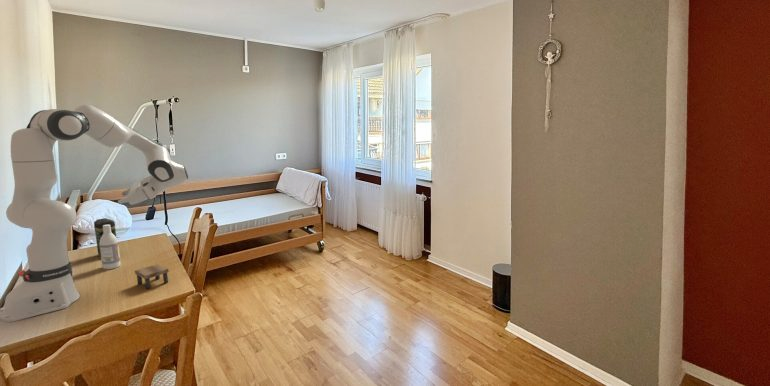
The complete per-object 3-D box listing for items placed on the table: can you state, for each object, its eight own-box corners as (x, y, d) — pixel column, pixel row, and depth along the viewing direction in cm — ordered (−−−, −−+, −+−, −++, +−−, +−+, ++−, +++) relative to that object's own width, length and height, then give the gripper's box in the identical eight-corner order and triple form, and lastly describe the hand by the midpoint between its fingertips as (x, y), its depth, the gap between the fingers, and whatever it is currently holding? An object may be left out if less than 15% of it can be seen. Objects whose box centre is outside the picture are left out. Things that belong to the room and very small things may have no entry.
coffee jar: (95, 254, 194) (91, 219, 190) (114, 250, 200) (109, 216, 197) (102, 259, 188) (97, 222, 185) (121, 254, 194) (116, 219, 191)
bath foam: (121, 267, 177) (116, 225, 174) (103, 270, 173) (97, 228, 170) (120, 263, 183) (115, 222, 179) (102, 266, 178) (96, 224, 175)
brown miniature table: (146, 289, 154) (145, 275, 153) (136, 284, 159) (134, 270, 158) (169, 282, 161) (168, 268, 160) (159, 277, 166) (157, 264, 165)
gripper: (150, 172, 184) (120, 184, 180) (145, 187, 166) (112, 201, 163) (157, 183, 187) (128, 195, 183) (153, 199, 170) (120, 212, 166)
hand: (120, 198), depth 173 cm, fingers open, 8 cm apart
